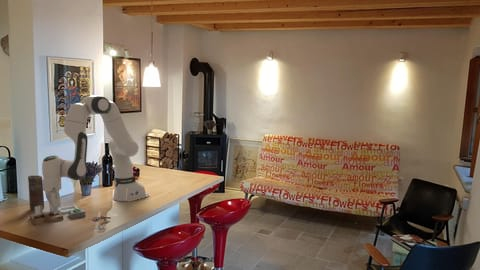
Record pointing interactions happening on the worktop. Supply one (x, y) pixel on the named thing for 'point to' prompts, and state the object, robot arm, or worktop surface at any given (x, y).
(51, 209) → the cylinder
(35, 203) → the brown rounded piece
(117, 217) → the worktop surface
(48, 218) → the wooden holder frame
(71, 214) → the grey square holed block
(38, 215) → the seated billet
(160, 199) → the worktop surface
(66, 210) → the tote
